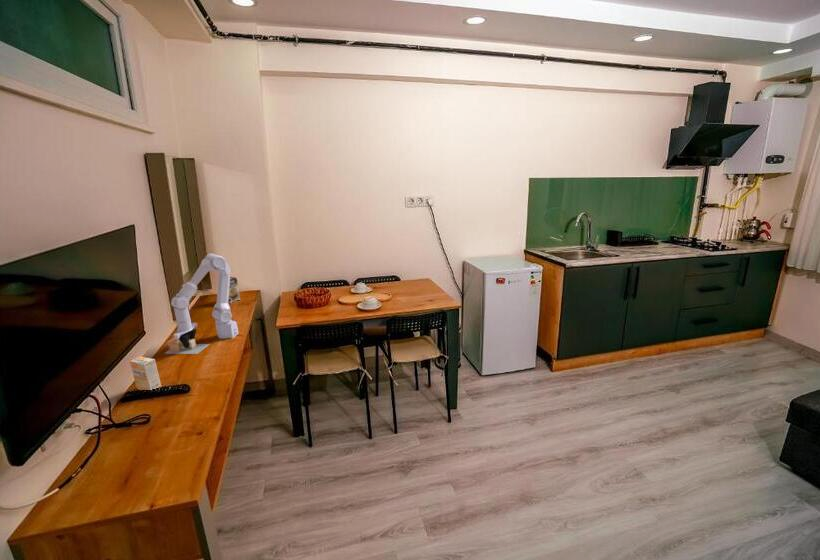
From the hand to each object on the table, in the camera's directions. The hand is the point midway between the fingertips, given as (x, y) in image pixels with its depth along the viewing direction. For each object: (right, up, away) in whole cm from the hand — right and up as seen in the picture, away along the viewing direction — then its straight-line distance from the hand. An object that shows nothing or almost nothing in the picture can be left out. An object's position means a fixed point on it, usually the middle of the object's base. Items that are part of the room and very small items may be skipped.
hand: (189, 345), depth 184 cm
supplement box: (+3, -12, -32) cm, 35 cm away
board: (-1, -2, 0) cm, 2 cm away
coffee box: (-11, +18, +66) cm, 69 cm away
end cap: (-6, -1, +1) cm, 6 cm away
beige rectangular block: (-2, -1, 0) cm, 2 cm away
